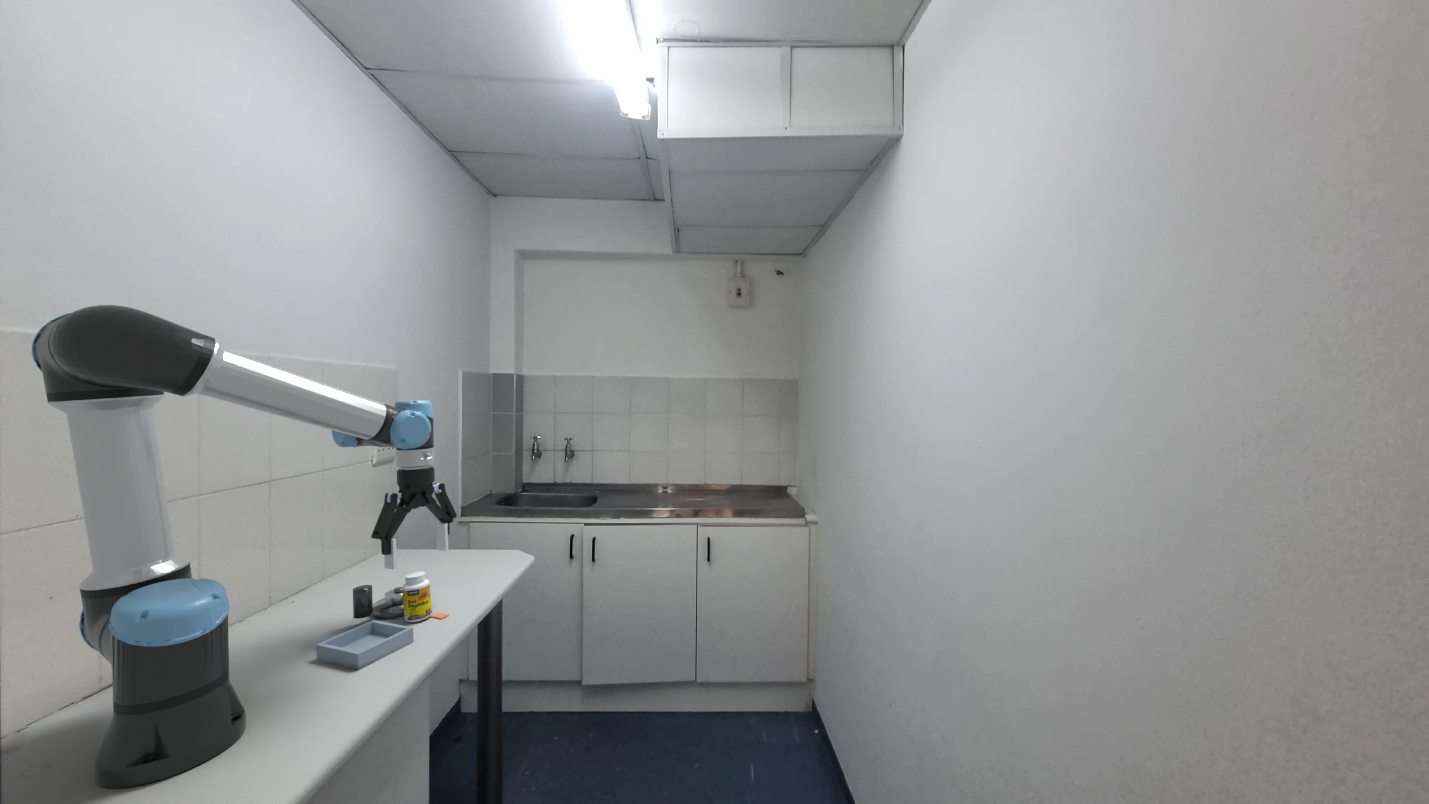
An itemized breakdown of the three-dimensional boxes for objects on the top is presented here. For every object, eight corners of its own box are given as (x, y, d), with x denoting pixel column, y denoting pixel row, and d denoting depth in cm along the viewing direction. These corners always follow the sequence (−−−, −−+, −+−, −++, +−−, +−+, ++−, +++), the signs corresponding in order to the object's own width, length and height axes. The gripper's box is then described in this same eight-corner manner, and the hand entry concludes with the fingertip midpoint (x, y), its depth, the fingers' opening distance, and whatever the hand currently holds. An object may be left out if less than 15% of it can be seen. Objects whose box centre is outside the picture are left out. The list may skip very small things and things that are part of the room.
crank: (401, 594, 128) (401, 569, 128) (419, 596, 126) (419, 571, 126) (345, 616, 115) (345, 589, 115) (364, 620, 113) (364, 592, 113)
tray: (358, 670, 96) (358, 654, 96) (316, 659, 100) (316, 644, 100) (413, 641, 107) (413, 627, 107) (373, 633, 111) (373, 620, 111)
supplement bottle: (405, 626, 115) (401, 580, 114) (403, 617, 119) (399, 574, 119) (434, 617, 118) (430, 574, 118) (430, 610, 123) (427, 568, 122)
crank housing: (395, 622, 117) (395, 613, 117) (361, 615, 121) (361, 607, 121) (436, 603, 127) (436, 595, 127) (403, 598, 131) (403, 590, 131)
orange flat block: (441, 619, 118) (441, 618, 118) (430, 617, 119) (429, 616, 119) (448, 615, 120) (448, 614, 120) (437, 613, 121) (437, 612, 121)
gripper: (375, 476, 105) (378, 579, 106) (470, 460, 129) (473, 544, 129) (349, 474, 108) (352, 575, 108) (448, 459, 131) (450, 542, 132)
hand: (418, 558), depth 119 cm, fingers open, 13 cm apart
